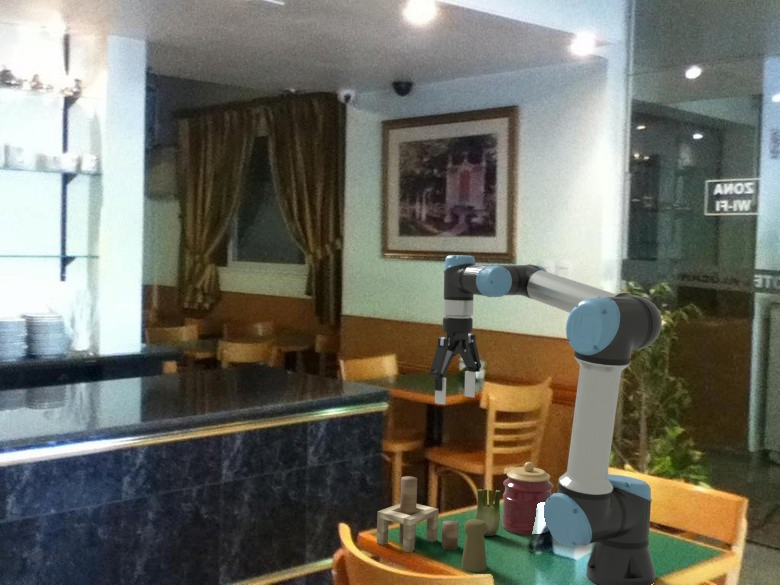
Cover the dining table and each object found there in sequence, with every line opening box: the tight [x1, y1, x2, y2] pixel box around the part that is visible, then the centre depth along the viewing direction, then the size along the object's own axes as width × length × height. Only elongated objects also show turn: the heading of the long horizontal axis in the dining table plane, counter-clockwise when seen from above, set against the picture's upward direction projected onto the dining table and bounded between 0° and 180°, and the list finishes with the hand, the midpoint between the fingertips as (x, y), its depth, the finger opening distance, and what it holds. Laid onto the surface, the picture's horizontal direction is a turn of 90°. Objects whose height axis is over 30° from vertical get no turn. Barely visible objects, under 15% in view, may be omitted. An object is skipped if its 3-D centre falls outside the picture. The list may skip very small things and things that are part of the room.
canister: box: [501, 461, 554, 536], centre depth 250 cm, size 13×13×18 cm
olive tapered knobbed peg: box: [460, 518, 488, 573], centre depth 220 cm, size 6×6×11 cm
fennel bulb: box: [474, 488, 501, 537], centre depth 243 cm, size 6×5×12 cm
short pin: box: [441, 520, 460, 551], centre depth 233 cm, size 4×4×6 cm
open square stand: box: [376, 503, 439, 553], centre depth 236 cm, size 10×12×8 cm
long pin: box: [398, 475, 418, 545], centre depth 236 cm, size 4×4×16 cm
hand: (455, 400), depth 241 cm, fingers open, 13 cm apart
